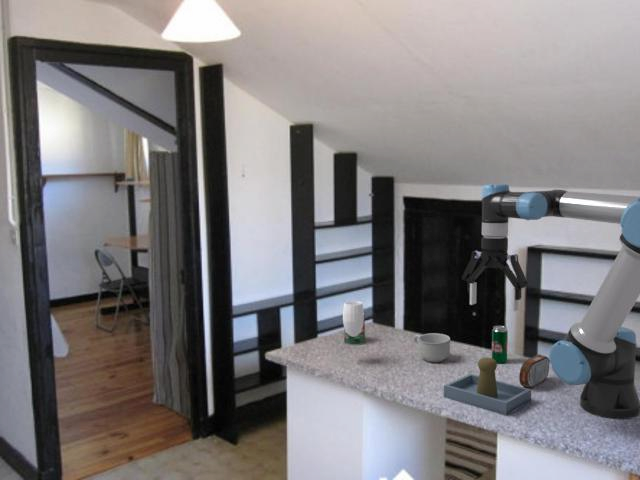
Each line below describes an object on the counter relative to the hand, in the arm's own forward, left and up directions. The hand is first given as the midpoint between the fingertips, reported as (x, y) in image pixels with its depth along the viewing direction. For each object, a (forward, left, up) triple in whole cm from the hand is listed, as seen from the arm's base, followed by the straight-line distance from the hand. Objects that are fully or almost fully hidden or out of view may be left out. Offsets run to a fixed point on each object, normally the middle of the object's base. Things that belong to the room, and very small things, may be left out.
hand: (493, 307), depth 193 cm
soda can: (+11, -23, -25) cm, 36 cm away
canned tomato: (+63, -7, -25) cm, 68 cm away
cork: (-4, +10, -24) cm, 26 cm away
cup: (+47, +11, -25) cm, 54 cm away
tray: (-4, +10, -25) cm, 27 cm away
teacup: (+30, -10, -25) cm, 40 cm away
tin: (-8, -11, -25) cm, 29 cm away
